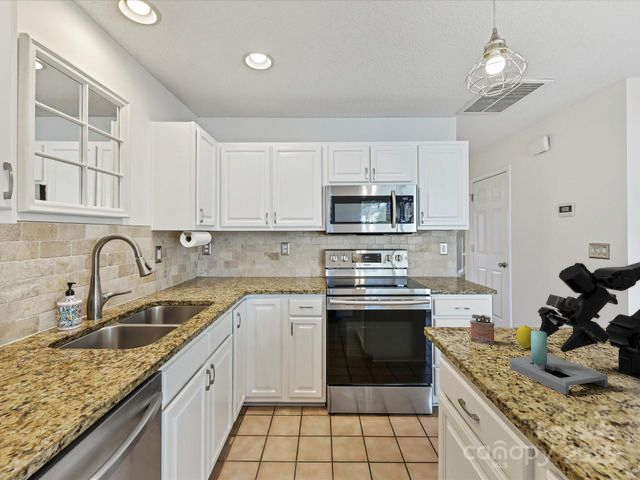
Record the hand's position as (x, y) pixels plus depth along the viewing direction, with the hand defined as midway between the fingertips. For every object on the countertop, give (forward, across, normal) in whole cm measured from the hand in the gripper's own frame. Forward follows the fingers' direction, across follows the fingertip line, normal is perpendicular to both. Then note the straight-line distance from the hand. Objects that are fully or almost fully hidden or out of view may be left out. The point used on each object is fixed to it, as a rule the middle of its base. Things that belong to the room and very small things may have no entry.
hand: (549, 345), depth 87 cm
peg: (+8, 0, +4) cm, 9 cm away
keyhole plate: (+6, +2, +6) cm, 8 cm away
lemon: (+1, -21, +11) cm, 24 cm away
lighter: (+9, -28, +3) cm, 30 cm away
